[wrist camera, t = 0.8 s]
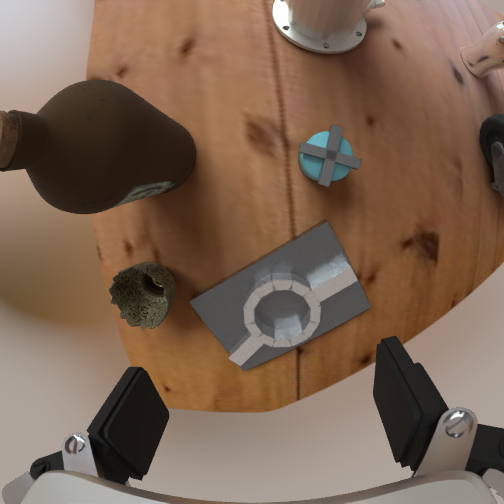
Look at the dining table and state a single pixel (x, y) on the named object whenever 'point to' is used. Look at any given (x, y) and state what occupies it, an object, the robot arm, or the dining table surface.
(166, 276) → the cup
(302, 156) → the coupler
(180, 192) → the dining table surface
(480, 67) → the beer glass
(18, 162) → the olive oil
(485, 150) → the caster wheel
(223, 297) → the coupling base
